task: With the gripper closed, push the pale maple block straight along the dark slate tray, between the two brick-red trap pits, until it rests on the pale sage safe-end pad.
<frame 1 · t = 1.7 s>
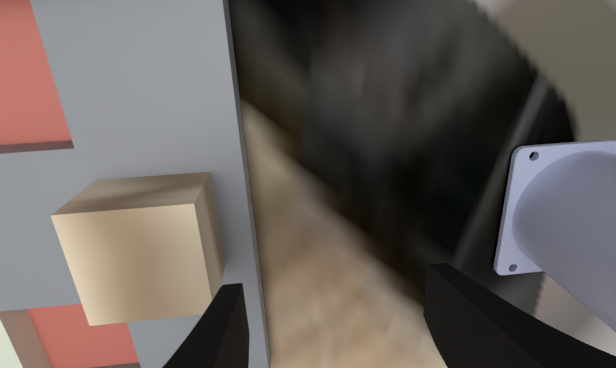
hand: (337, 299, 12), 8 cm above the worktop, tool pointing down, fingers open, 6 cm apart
trap tray: (76, 215, 19), on the worktop
maple block: (164, 225, 17), point 2 cm above the worktop, touching trap tray
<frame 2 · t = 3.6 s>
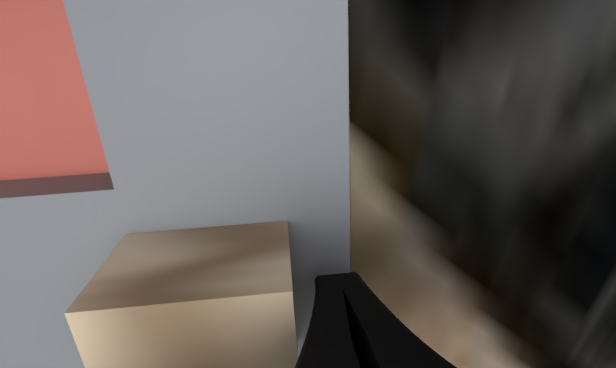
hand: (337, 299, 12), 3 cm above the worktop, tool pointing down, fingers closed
trap tray: (108, 270, 14), on the worktop
maple block: (219, 292, 12), point 2 cm above the worktop, touching gripper
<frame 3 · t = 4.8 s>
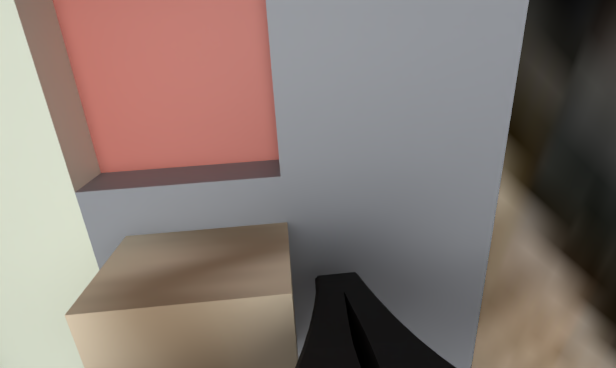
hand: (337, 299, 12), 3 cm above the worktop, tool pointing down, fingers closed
trap tray: (236, 258, 14), on the worktop
maple block: (219, 293, 12), point 2 cm above the worktop, touching gripper, trap tray
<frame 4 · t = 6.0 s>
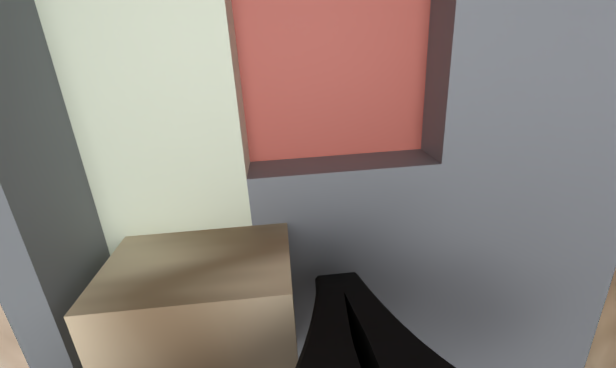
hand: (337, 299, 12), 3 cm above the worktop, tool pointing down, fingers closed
trap tray: (362, 247, 14), on the worktop
maple block: (218, 294, 12), point 2 cm above the worktop, touching gripper, trap tray
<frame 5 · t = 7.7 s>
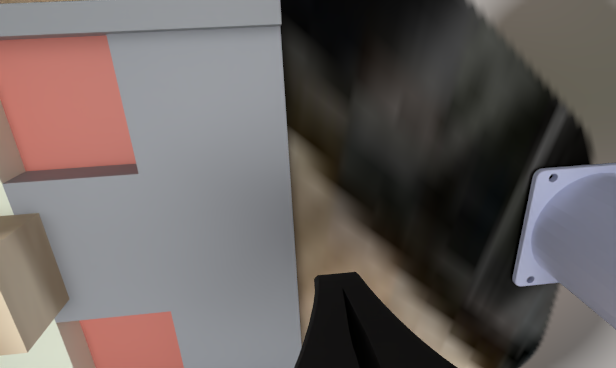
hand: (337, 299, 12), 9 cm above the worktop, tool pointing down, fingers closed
trap tray: (129, 232, 20), on the worktop
maple block: (1, 262, 18), point 2 cm above the worktop, touching trap tray
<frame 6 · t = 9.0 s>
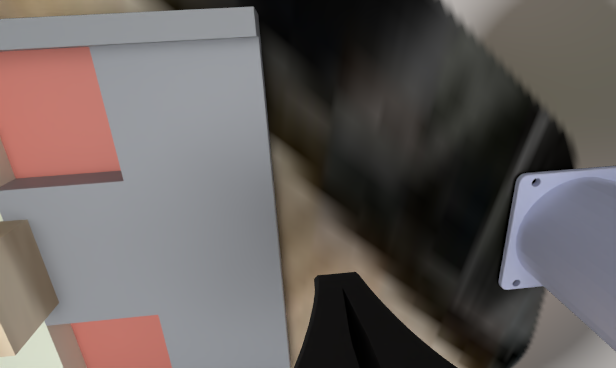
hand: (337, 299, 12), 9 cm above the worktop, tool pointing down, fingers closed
trap tray: (118, 237, 20), on the worktop
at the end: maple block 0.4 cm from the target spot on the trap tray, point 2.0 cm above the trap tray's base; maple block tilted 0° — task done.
